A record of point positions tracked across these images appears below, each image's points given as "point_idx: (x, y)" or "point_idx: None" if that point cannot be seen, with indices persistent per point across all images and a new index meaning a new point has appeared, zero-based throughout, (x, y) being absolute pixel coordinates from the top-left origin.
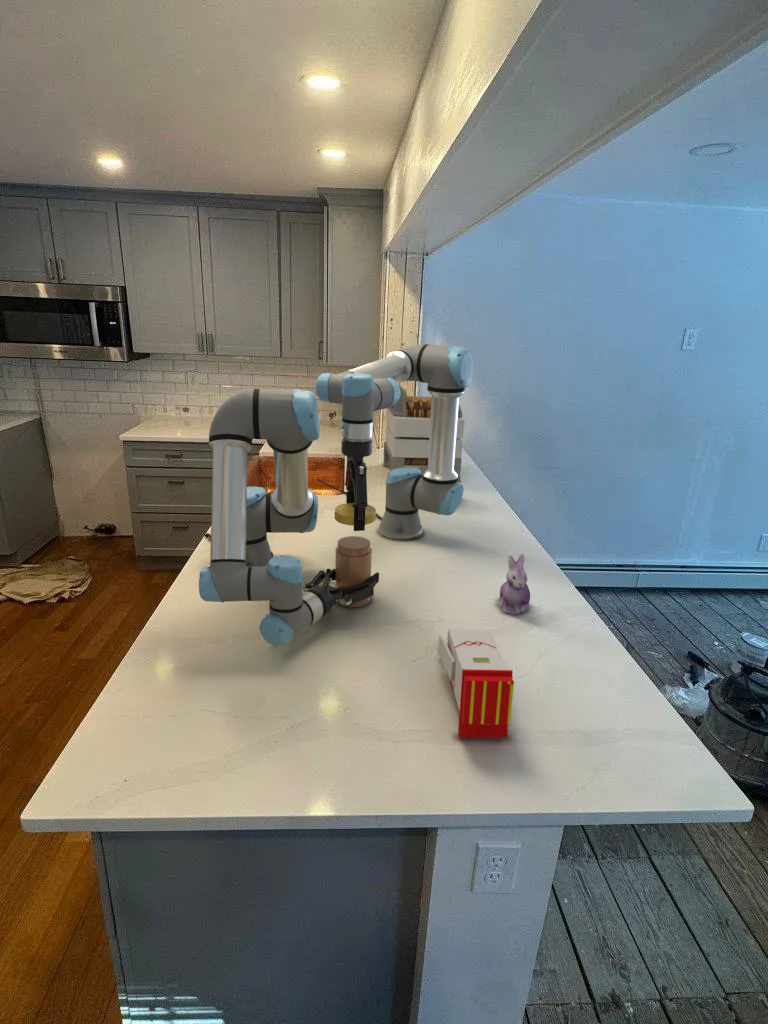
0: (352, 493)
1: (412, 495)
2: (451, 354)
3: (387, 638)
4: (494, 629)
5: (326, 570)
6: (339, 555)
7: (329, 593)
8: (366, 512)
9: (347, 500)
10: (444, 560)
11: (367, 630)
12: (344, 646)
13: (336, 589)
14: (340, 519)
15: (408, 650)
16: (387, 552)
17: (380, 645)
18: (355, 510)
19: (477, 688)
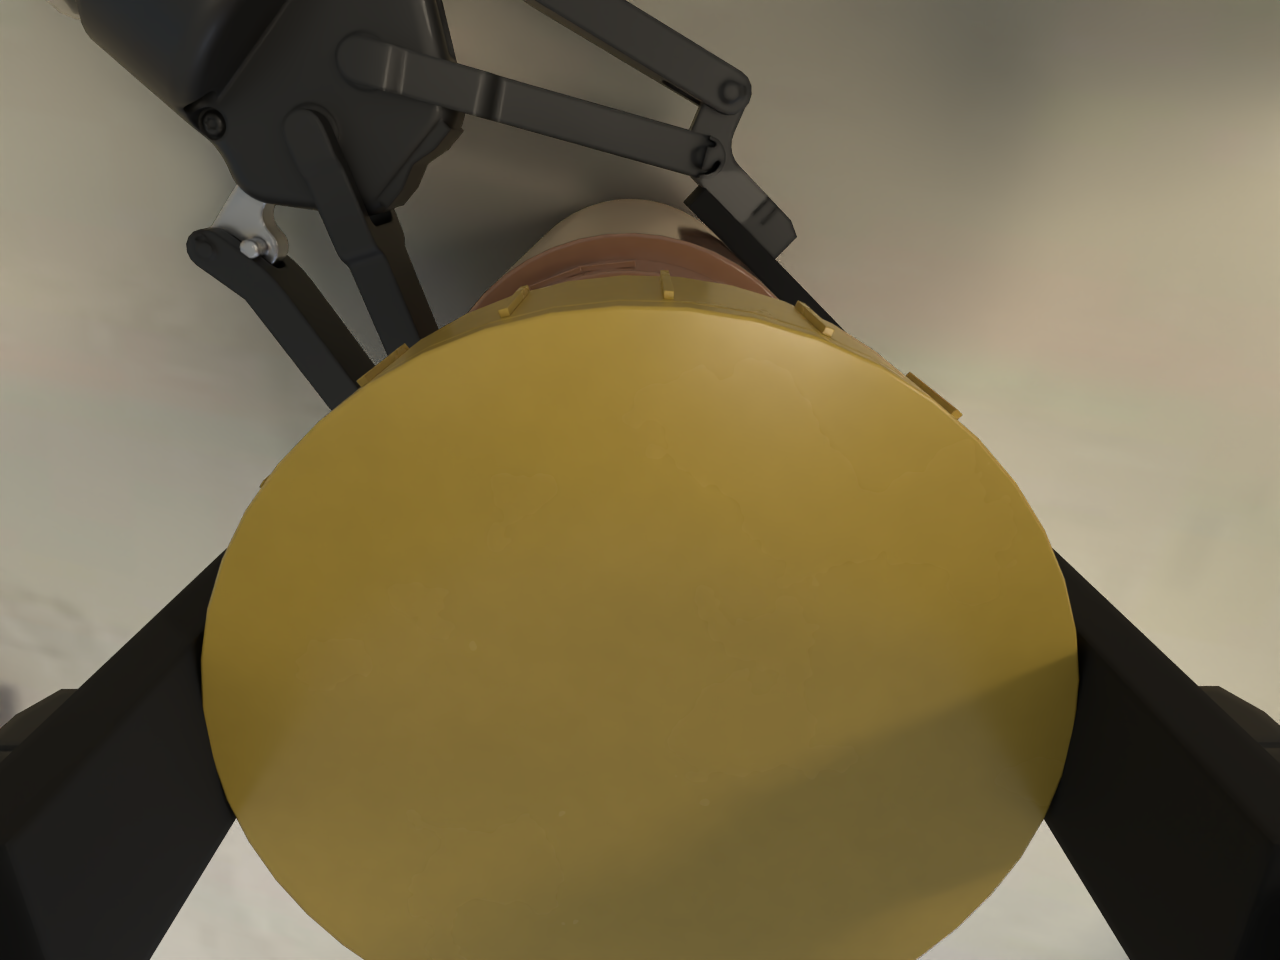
0: (1199, 937)
1: None
2: None
3: (142, 438)
4: (245, 919)
5: (709, 137)
6: (526, 260)
7: (169, 86)
8: (454, 893)
9: (1120, 695)
10: (1001, 927)
11: (227, 343)
12: (36, 167)
13: (310, 173)
14: (381, 365)
15: (29, 517)
16: (1232, 670)
17: (66, 384)
18: (6, 783)
19: None
